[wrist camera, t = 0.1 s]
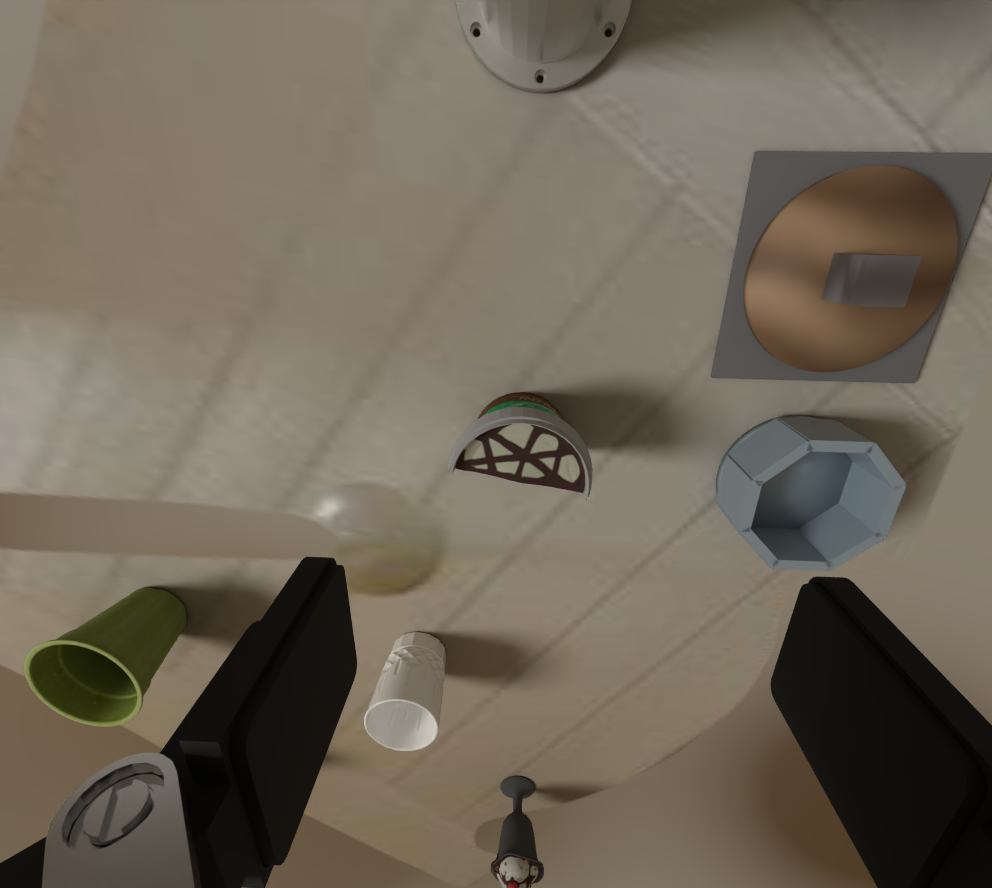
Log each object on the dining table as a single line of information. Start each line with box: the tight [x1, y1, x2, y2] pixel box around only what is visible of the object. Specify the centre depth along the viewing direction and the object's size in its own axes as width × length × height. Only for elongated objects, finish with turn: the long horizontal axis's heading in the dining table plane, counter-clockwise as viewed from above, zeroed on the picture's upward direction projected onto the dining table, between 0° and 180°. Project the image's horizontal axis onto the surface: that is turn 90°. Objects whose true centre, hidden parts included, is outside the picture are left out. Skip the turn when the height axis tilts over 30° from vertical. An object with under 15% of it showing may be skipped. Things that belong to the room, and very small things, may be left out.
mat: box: [711, 151, 992, 383], centre depth 41 cm, size 18×18×1 cm
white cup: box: [364, 632, 446, 751], centre depth 55 cm, size 8×8×10 cm
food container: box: [448, 392, 592, 500], centre depth 42 cm, size 12×6×10 cm, turn 79°
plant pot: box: [24, 587, 187, 726], centre depth 54 cm, size 12×12×11 cm
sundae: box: [491, 776, 544, 888], centre depth 62 cm, size 7×7×15 cm
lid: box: [743, 165, 957, 373], centre depth 38 cm, size 16×16×6 cm
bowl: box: [716, 415, 906, 571], centre depth 45 cm, size 13×13×6 cm
